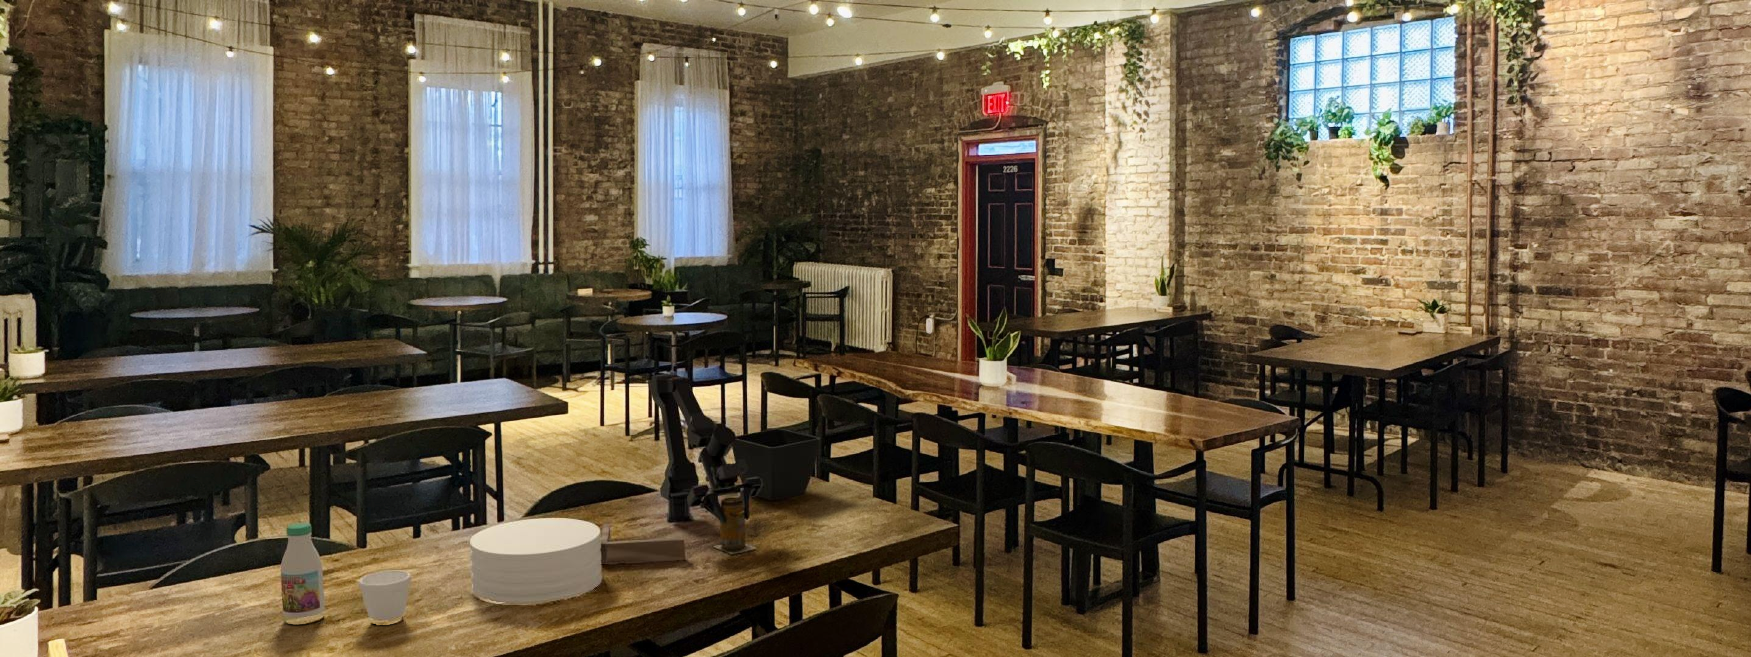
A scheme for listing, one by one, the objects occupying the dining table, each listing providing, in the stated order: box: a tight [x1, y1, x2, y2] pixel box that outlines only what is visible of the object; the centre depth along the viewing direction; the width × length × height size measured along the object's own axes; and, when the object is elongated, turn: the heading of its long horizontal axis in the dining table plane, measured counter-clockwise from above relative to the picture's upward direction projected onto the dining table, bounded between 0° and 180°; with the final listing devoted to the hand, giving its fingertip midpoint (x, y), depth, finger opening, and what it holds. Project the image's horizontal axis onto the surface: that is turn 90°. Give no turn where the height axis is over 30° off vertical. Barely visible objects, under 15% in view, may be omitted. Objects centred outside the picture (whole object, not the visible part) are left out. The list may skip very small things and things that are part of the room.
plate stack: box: [469, 517, 603, 604], centre depth 264 cm, size 28×28×12 cm
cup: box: [358, 569, 412, 621], centre depth 242 cm, size 10×10×9 cm
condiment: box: [713, 497, 756, 555], centre depth 290 cm, size 7×8×12 cm
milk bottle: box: [280, 522, 326, 618], centre depth 242 cm, size 8×8×20 cm
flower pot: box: [731, 428, 821, 502], centre depth 342 cm, size 19×19×17 cm
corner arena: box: [600, 523, 685, 565], centre depth 288 cm, size 18×20×5 cm
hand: (736, 520), depth 288 cm, fingers closed on condiment, 6 cm apart
